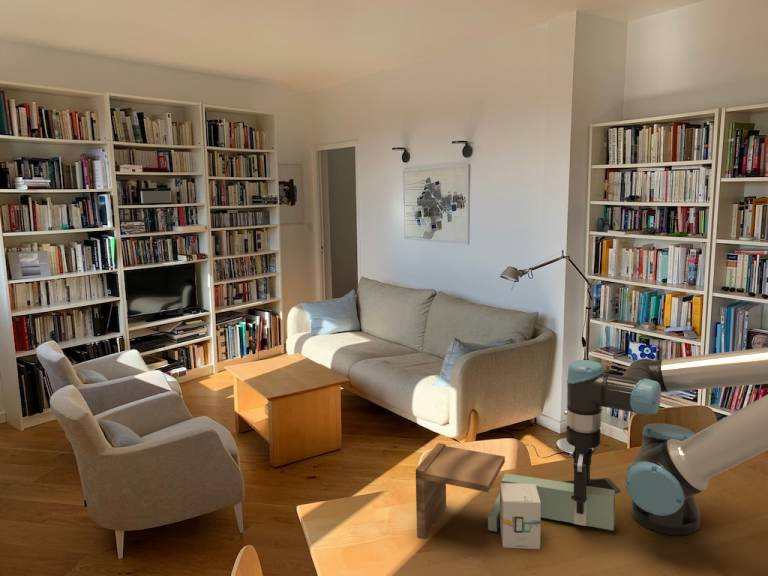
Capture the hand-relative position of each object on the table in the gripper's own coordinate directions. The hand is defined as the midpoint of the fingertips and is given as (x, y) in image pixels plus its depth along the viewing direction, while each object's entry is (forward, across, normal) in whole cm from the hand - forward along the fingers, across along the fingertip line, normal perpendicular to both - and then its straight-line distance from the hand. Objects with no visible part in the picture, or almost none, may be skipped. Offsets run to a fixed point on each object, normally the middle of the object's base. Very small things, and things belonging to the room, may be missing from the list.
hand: (581, 518), depth 140 cm
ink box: (+2, +11, -12) cm, 17 cm away
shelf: (+1, +12, -26) cm, 29 cm away
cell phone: (+2, -19, 0) cm, 19 cm away
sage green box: (+1, +5, -6) cm, 8 cm away
